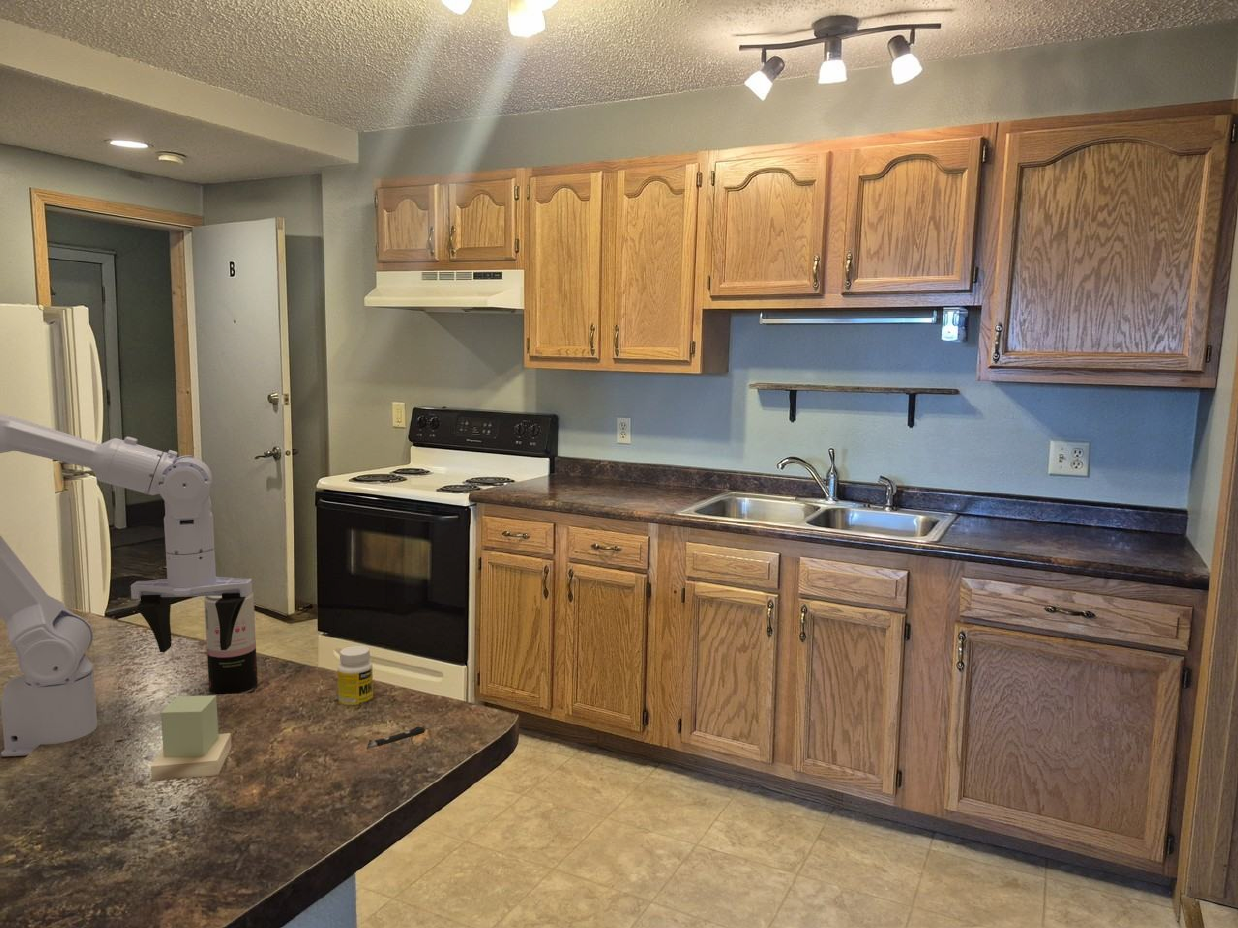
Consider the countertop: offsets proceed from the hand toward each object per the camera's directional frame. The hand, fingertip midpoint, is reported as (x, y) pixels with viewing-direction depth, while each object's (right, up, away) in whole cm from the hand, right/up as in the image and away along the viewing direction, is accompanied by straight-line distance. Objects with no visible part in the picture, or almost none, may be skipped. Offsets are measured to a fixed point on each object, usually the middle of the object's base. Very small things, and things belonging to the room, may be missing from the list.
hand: (196, 648), depth 111 cm
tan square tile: (+6, -11, -12) cm, 18 cm away
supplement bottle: (+19, -10, +7) cm, 23 cm away
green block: (+6, -9, -12) cm, 16 cm away
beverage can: (-1, -9, +12) cm, 15 cm away
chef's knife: (+23, -12, -5) cm, 26 cm away
